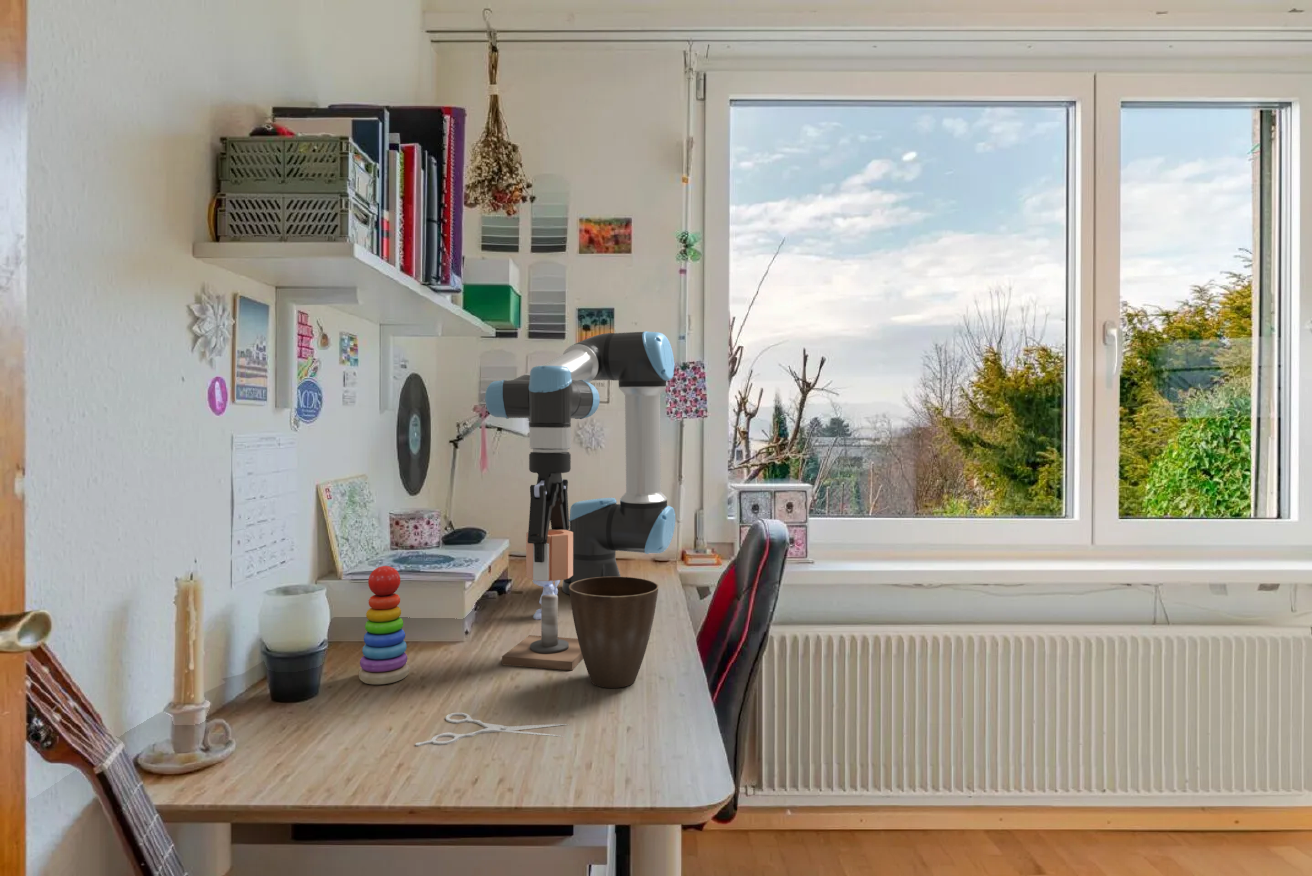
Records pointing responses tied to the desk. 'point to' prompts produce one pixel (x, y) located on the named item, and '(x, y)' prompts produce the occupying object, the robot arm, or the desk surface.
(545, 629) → the post stand
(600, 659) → the plant pot
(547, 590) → the toy figurine
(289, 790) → the desk surface
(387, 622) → the stacking toy
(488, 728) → the scissors
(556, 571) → the ring
